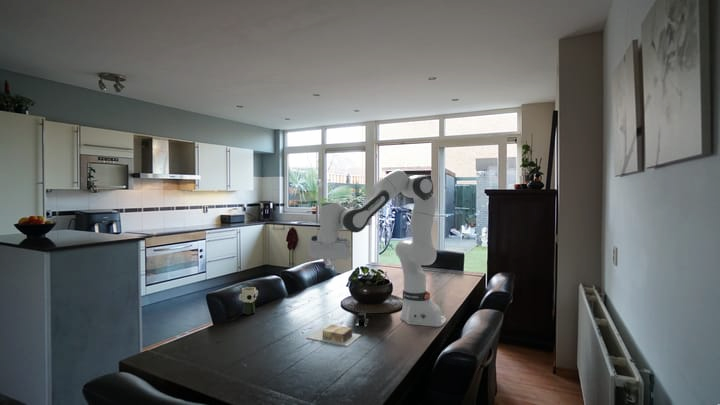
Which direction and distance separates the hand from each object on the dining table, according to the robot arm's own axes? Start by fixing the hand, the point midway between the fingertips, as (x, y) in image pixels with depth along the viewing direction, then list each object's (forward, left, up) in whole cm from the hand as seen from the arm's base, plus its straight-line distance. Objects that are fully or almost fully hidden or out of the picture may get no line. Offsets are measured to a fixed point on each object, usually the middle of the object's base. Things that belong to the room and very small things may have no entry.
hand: (329, 267), depth 169 cm
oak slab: (-2, +5, -27) cm, 28 cm away
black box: (-8, -18, -30) cm, 36 cm away
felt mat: (-5, +4, -29) cm, 30 cm away
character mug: (+50, -4, -29) cm, 58 cm away
